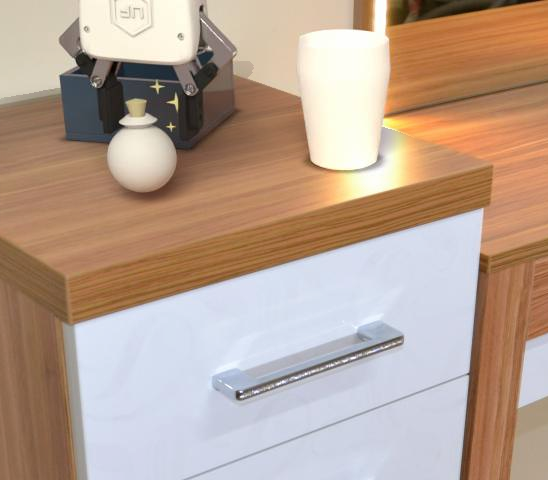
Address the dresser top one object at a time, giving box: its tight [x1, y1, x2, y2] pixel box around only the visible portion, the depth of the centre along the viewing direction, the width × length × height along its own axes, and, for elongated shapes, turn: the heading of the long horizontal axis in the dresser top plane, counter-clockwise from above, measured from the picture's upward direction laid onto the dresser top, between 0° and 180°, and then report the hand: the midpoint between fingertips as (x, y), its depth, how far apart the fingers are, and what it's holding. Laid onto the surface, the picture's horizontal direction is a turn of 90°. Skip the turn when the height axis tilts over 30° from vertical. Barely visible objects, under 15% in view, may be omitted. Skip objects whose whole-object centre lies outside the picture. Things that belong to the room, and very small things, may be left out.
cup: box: [296, 28, 391, 171], centre depth 112 cm, size 9×9×12 cm
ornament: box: [106, 79, 178, 193], centre depth 101 cm, size 6×7×10 cm
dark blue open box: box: [58, 49, 236, 150], centre depth 123 cm, size 15×14×7 cm
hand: (152, 131), depth 101 cm, fingers closed on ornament, 6 cm apart
